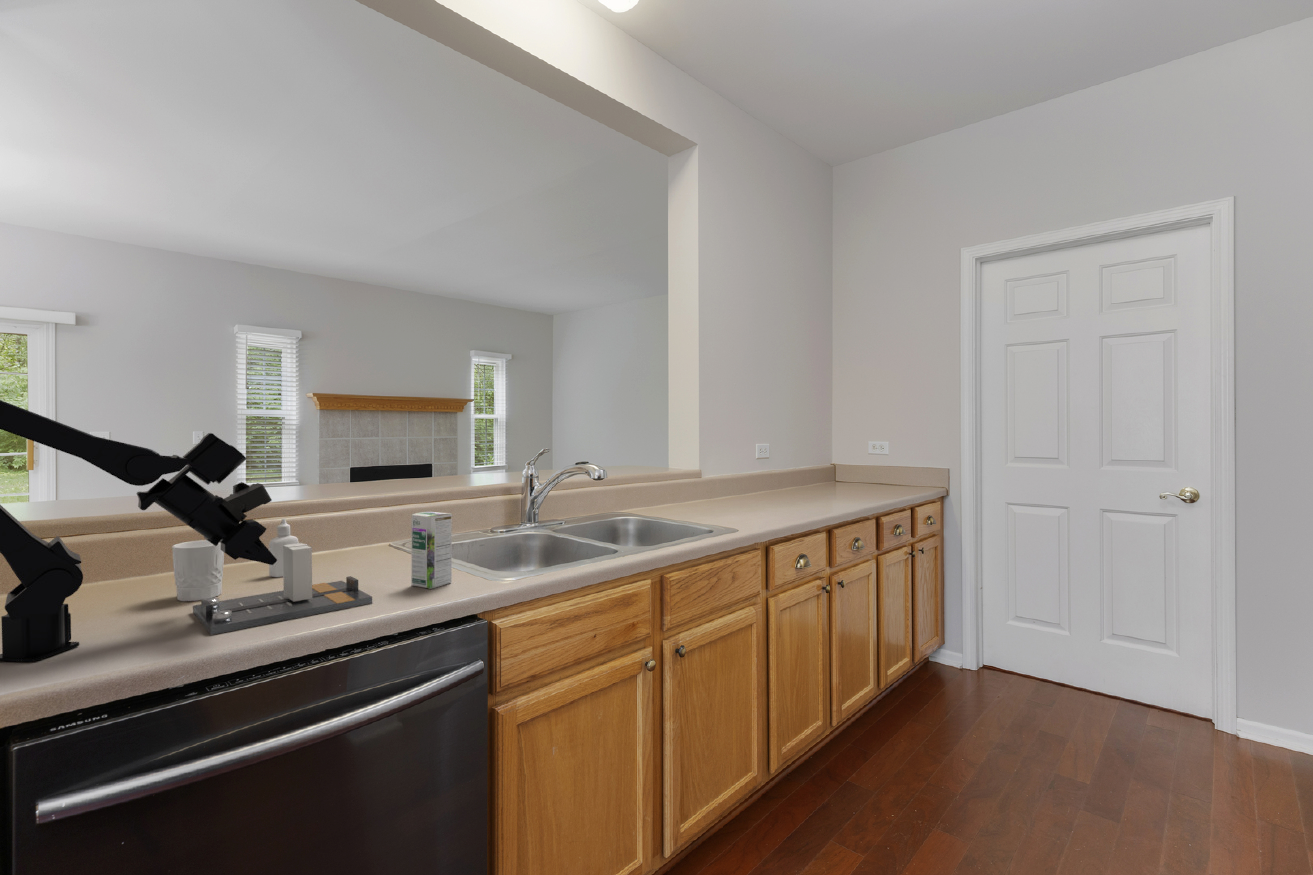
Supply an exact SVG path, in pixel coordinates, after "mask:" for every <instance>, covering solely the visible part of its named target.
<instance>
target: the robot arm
mask: <svg viewBox="0 0 1313 875" xmlns="http://www.w3.org/2000/svg"><path fill="white" fill-rule="evenodd" d="M0 430H2V431H5V432H7V433H10V434H13V435H15V436H18V437H21V438H23V439H26V440H29V441H32V442H35V443H37V444H41V445H44V446H46V447H48V448H52V449H54V450H57V451H60V452H63V453H66V454H68V455H71V456H74V457H77V458H80V459H82V460H84V461H86V462H87V463H89V464H91V465H93V466H95V467H96V468H99V469H100V470H102V471H103V472H106V473H107V474H110V475H111V476H113V477H115V478H117V479H119V480H121V481H123V482H124V483H126V484H129V485H131V486H136V487H137V486H139V487H142V486H147V485H150V484H153V483H154V482H156V481H157V482H156V483H155V484H154V485H153V486H152V487H150V488H149V489H148V490H147V491H137V492H136V495H137V496H136V497H137V498H138V504H137V507H138V508H139V510H141V511H146V510H147V509H148V508H149V507H151V506H152V505H153V504H154V503H155V504H156V505H158V506H159V507H160V508H162V509H164V510H165V511H166V512H168V513H170V514H171V515H172V516H174V517H175V518H176V519H178V520H179V521H181V522H182V523H184V524H186V525H187V526H188V527H190V528H191V529H193V530H194V531H196V533H199V535H201V536H203V538H204V540H207V541H209V542H210V543H212V544H213V545H215V546H217V545H218V544H219V543H220V542H221V550H222V551H223V552H224V554H225V555H228V556H229V558H232V559H233V560H235V561H237V559H243V560H248V561H252V562H257V563H262V564H267V565H269V564H270V565H273V564H275V562H276V561H277V559H276V558H275V557H274V555H273V554H272V553H271V552H270V551H269V547H267V546H266V544H265V543H264V542H263V541H262V540H261V539H260V537H261V536H263V535H264V533H266V530H267V529H268V528H267V527H266V526H264V525H263V524H262V523H259V522H258V521H257V520H255V519H246V518H247V517H248V515H247V514H245V513H248V512H250V511H252V510H253V509H256V508H259V507H260V506H262V505H266V504H269V503H271V502H272V498H271V496H270V494H269V493H268V491H267V489H266V487H265V486H264V484H263V483H259V482H258V483H257V482H256V483H252V484H251V485H248V484H247V483H245V482H243V481H241V482H238V483H237V484H233V486H232V493H231V494H229V496H226V497H225V498H223V497H222V496H218V494H217V495H215V494H213V493H212V492H210V490H208V489H207V488H204V486H202V485H201V484H199V483H198V482H197V481H195V480H194V479H192V478H191V477H190V476H188V474H189V473H191V474H192V475H193V476H194V477H196V478H197V479H198V480H200V481H201V482H203V483H204V484H205V485H207V486H208V485H210V484H211V483H213V484H214V483H216V484H219V485H220V484H221V483H222V482H223V481H225V479H226V478H228V477H229V475H231V474H232V473H233V472H234V471H235V470H236V469H237V468H238V467H239V466H241V465H242V464H243V463H244V462H245V461H247V457H246V456H245V455H244V454H243V453H242V452H241V451H240V450H238V449H237V448H236V447H235V446H233V445H231V444H229V443H227V442H225V441H224V440H223V439H221V438H219V437H218V436H217V435H215V434H214V433H211V432H208V433H206V435H204V436H203V437H202V438H201V439H200V441H199V442H198V443H197V444H196V445H195V446H193V447H192V448H191V449H190V450H189V451H187V452H186V453H185V454H184V455H183V456H180V455H177V454H173V455H162V454H160V453H159V452H157V451H155V450H153V449H151V448H148V447H147V448H146V447H143V446H138V445H135V444H130V443H126V442H121V441H117V440H113V439H108V438H104V437H99V436H96V435H93V434H90V433H89V432H88V433H87V432H85V431H82V430H80V429H77V428H75V427H72V426H69V425H67V424H64V423H61V422H60V421H56V420H54V419H50V418H49V417H46V416H44V415H41V414H38V413H36V412H32V411H29V410H27V409H25V408H22V407H20V406H17V405H14V404H12V403H10V402H7V401H5V400H1V399H0ZM174 473H177V474H175V475H174V476H172V478H170V479H168V480H167V479H165V478H163V477H162V476H164V475H168V474H174ZM161 477H162V478H161ZM160 478H161V479H160ZM159 479H160V480H159ZM0 554H1V555H2V556H3V558H4V559H5V561H6V563H7V564H8V566H9V567H10V568H11V569H12V571H13V573H14V575H15V576H16V578H17V579H18V581H20V583H19V584H18V585H17V586H15V587H14V588H13V589H12V590H11V591H10V592H8V593H7V595H6V599H5V605H4V610H5V612H6V614H5V615H1V616H0V618H1V652H2V653H0V662H26V663H27V662H31V663H33V662H38V661H40V660H43V659H45V658H48V657H51V656H54V655H57V654H59V653H63V652H65V651H68V650H70V649H74V648H77V647H79V646H80V641H71V640H72V620H71V619H72V614H71V612H69V604H68V603H64V602H65V600H66V599H67V598H69V597H71V596H73V595H74V594H75V593H76V592H78V591H79V589H80V587H81V586H82V584H83V581H84V574H83V570H82V567H81V564H82V558H81V556H80V554H78V553H77V552H73V550H70V548H68V547H67V546H66V544H65V543H64V542H63V540H62V539H61V537H60V536H59V535H58V536H55V537H54V538H52V540H50V541H49V542H48V541H47V540H45V539H42V538H40V537H39V536H37V535H36V534H34V533H32V532H31V531H30V530H29V529H28V528H27V527H26V526H25V525H23V524H22V523H21V522H20V521H19V520H18V519H17V518H16V517H14V515H13V514H11V513H10V511H8V510H7V509H6V508H4V506H3V505H1V504H0Z"/></svg>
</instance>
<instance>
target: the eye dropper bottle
mask: <svg viewBox="0 0 1313 875" xmlns="http://www.w3.org/2000/svg"><path fill="white" fill-rule="evenodd" d="M276 528H277V529H276V530H277V532H276V534H277V536H276V537H273V538H272V539H271V540H270V541H269V543H268V550H269V551H270V552H271V553H272V554H273V555H274V557H275V558H276V559H277V561H276V562H275V564H273V565H270V564H268V571H269V572H268V574H269V577H270V578H271V577H272V578H282V577H283V545H289V544H297V543H300V542H299V538H298V537H297V536H294V535H292V534H291V525H290V524H288V523H287V519H286V518H282V519H281V523H280V524H279V525H277V526H276Z"/></svg>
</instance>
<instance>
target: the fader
mask: <svg viewBox="0 0 1313 875" xmlns="http://www.w3.org/2000/svg"><path fill="white" fill-rule="evenodd" d="M312 548H313V547H311V546H309V545H308V544H307V543H302V542H299V543H297V544H289V545H283V590H284V595H285V596H286V597H287V598H289V599H290V600H292V601H293V602H294V601H300V600H305V599H311V598H312V585H313V554H312V552H313V549H312Z"/></svg>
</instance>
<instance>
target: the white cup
mask: <svg viewBox="0 0 1313 875" xmlns="http://www.w3.org/2000/svg"><path fill="white" fill-rule="evenodd" d="M171 550H172V552H171V553H172V563H173V574H174V576H173V577H174V581H175V582H174V585H175V586H176V599H177V601H180V602H196V601H202V600H204V599H209V598H217V597H219V596H220V595H221V594H222V590H223V585H222V584H223V581H222V580H223V578H224V577H223V576H224V566H225V565H224V564H225V563H224V561H225V553H224V552H223V551H222V550H221V542H220V543H219V544H218V545H217V546H215V545H213V544H212V543H210V542H209V541H207V540H206V539H203V540H192V541H191V540H190V541H185V542H180V543H176V544H173V545H172V546H171Z"/></svg>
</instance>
